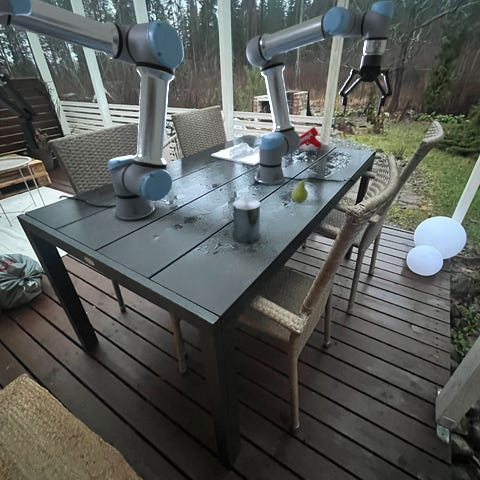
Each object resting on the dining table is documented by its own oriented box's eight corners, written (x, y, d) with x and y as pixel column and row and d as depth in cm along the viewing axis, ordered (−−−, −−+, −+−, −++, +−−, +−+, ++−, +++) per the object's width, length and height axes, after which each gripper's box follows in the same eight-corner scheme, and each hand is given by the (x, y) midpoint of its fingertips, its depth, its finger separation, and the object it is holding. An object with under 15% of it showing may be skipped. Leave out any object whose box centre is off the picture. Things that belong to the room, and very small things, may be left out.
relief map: (253, 165, 166) (254, 157, 163) (211, 156, 184) (210, 148, 181) (276, 155, 184) (277, 147, 181) (235, 147, 202) (235, 140, 199)
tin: (228, 235, 98) (227, 203, 91) (246, 227, 103) (246, 196, 96) (246, 245, 92) (246, 212, 85) (264, 236, 97) (265, 203, 91)
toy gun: (325, 144, 195) (314, 126, 192) (324, 145, 192) (313, 127, 188) (303, 157, 205) (292, 140, 202) (302, 159, 202) (291, 142, 198)
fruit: (288, 200, 123) (290, 174, 116) (302, 197, 125) (305, 172, 119) (296, 206, 118) (299, 179, 111) (310, 203, 120) (314, 177, 114)
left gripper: (-126, 41, 42) (-47, 173, 54) (31, 48, 62) (64, 144, 73) (-148, 42, 45) (-68, 169, 56) (9, 49, 64) (45, 142, 76)
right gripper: (339, 54, 104) (330, 115, 115) (411, 53, 99) (394, 116, 110) (338, 55, 110) (329, 112, 122) (406, 54, 105) (390, 114, 116)
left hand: (7, 155), depth 65 cm, fingers open, 13 cm apart
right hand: (360, 114), depth 116 cm, fingers open, 13 cm apart
